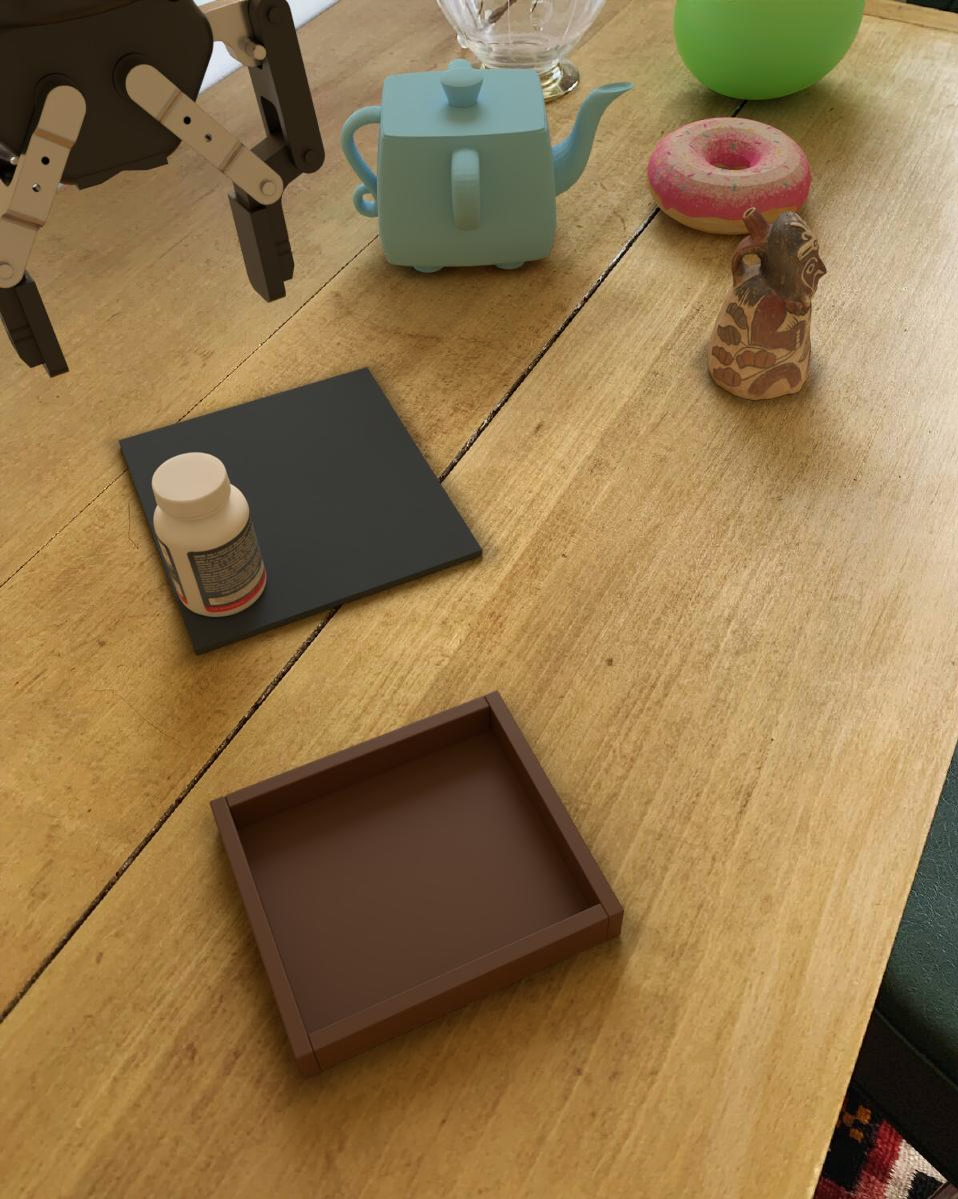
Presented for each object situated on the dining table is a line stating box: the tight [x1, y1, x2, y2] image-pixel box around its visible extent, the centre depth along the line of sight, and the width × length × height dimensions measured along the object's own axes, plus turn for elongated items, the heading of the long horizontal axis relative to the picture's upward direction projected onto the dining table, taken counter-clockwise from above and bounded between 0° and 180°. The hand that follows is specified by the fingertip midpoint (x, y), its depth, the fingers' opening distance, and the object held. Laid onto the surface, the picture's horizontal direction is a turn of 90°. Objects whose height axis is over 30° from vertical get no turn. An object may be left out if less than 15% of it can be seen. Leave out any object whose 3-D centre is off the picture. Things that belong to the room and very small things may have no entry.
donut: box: [646, 117, 813, 235], centre depth 92 cm, size 14×13×5 cm
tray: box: [209, 690, 625, 1080], centre depth 53 cm, size 16×14×2 cm
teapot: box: [339, 58, 635, 273], centre depth 86 cm, size 18×16×14 cm
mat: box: [118, 366, 484, 656], centre depth 71 cm, size 18×20×1 cm
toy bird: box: [672, 0, 866, 101], centre depth 102 cm, size 18×17×15 cm
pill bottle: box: [152, 453, 266, 617], centre depth 63 cm, size 5×5×9 cm
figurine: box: [706, 207, 828, 401], centre depth 74 cm, size 7×7×12 cm
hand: (165, 328), depth 42 cm, fingers open, 8 cm apart
